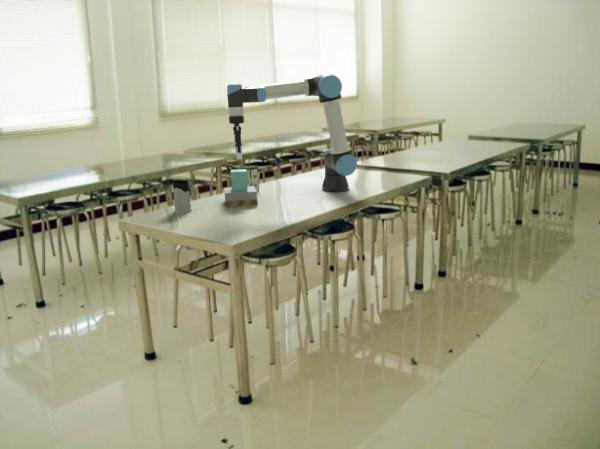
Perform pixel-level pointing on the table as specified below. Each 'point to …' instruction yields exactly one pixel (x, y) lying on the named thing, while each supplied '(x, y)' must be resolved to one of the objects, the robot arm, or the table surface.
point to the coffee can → (252, 176)
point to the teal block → (239, 180)
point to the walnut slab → (241, 203)
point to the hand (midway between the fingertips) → (238, 157)
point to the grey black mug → (182, 196)
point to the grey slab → (240, 194)
